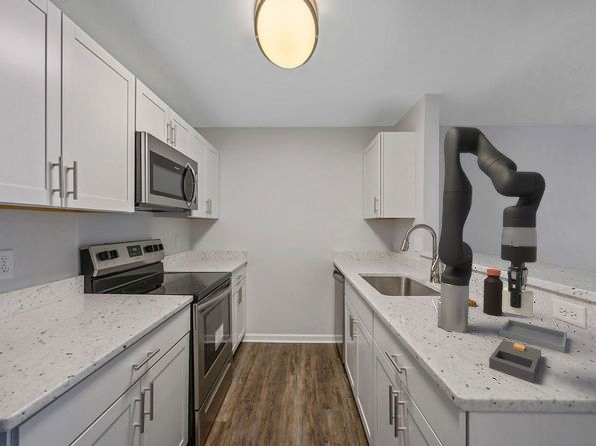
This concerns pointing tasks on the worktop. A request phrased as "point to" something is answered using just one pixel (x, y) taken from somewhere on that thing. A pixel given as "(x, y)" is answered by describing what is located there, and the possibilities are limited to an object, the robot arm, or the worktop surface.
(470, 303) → the pastry
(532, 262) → the robot arm
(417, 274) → the worktop surface
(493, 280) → the bottle
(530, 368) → the grey slotted base
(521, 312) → the block
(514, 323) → the tray
